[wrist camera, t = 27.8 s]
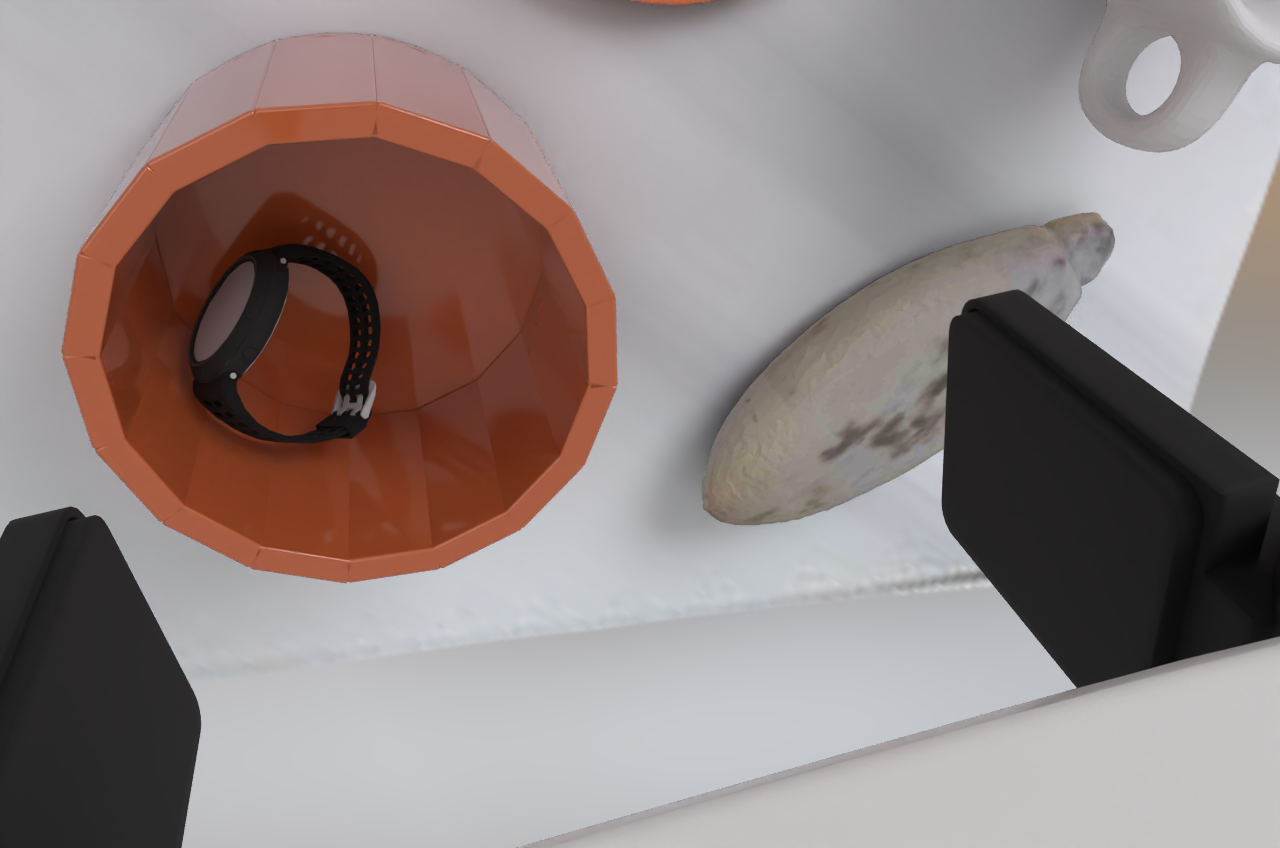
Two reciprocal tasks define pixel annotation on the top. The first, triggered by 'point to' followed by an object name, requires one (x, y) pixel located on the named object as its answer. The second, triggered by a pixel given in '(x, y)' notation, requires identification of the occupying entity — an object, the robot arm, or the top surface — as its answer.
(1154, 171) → the top surface
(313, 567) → the pot
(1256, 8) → the cup
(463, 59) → the top surface
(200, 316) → the smartwatch
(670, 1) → the lid
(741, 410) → the decorative stone
